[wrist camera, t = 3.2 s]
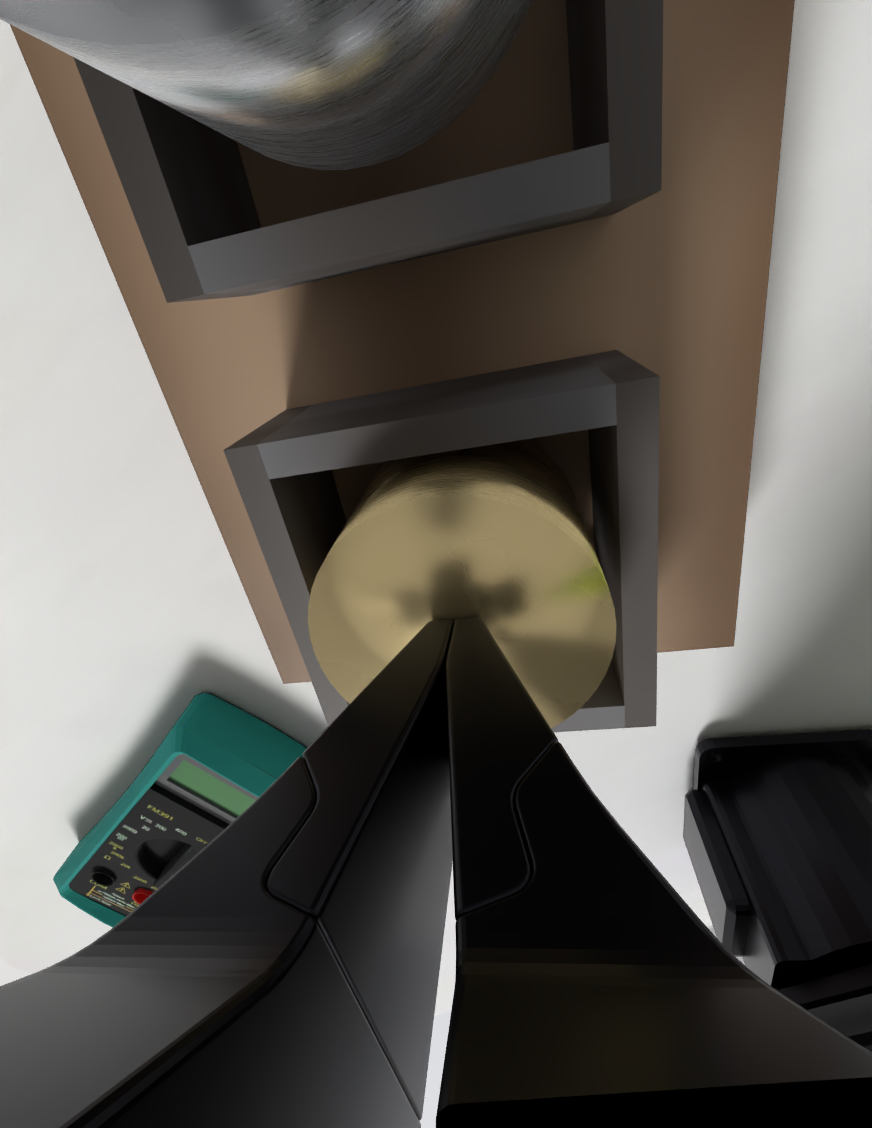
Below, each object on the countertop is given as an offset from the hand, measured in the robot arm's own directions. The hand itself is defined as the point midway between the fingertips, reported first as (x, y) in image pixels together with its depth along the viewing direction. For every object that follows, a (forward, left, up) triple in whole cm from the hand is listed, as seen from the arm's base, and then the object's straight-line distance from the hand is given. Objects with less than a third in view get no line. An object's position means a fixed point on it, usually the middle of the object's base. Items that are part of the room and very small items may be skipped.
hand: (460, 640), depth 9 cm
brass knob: (0, 0, -4) cm, 4 cm away
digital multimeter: (+14, +14, -8) cm, 21 cm away
